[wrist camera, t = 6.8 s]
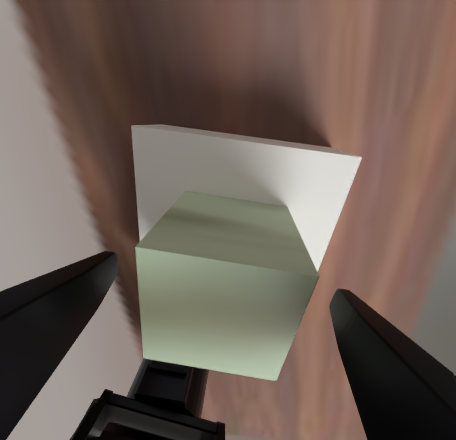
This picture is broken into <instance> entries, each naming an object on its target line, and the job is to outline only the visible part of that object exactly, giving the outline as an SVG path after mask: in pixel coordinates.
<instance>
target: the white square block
mask: <svg viewBox="0 0 456 440" xmlns="http://www.w3.org/2000/svg"><path fill="white" fill-rule="evenodd" d="M131 130H132V143H133V157H134V170H135V184H136V197H137V211H138V224H139V238H140V241H141V240H142V239H143V238H144V236H145V235H146V234H147V233H148V232H149V231H150V230H151V229H152V228H153V226H154V225H155V224H156V223H157V222H158V221H159V220H160V219H161V217H162V216H163V215H164V214H165V213H166V212H167V211H168V210H169V208H170V207H171V206H172V205H173V204H174V203H175V202H176V201H177V199H178V198H179V197H180V196H181V195H182V194H183V193H184V192H185V191H189V192H195V193H202V194H208V195H215V196H221V197H227V198H234V199H240V200H247V201H253V202H260V203H266V204H273V205H279V206H286V207H288V209H289V211H290V214H291V216H292V218H293V220H294V222H295V224H296V227H297V229H298V231H299V233H300V235H301V237H302V240H303V242H304V244H305V246H306V248H307V250H308V253H309V255H310V257H311V259H312V261H313V264H314V266H315V268H316V270H317V272H318V269H319V266H320V264H321V261H322V259H323V256H324V254H325V251H326V249H327V246H328V243H329V241H330V238H331V236H332V233H333V231H334V228H335V225H336V223H337V220H338V218H339V215H340V213H341V210H342V208H343V205H344V202H345V200H346V197H347V195H348V192H349V190H350V187H351V184H352V182H353V179H354V177H355V174H356V172H357V169H358V167H359V164H360V161H361V159H362V157H359V156H356V155H353V154H350V153H347V152H344V151H341V150H338V149H335V148H331V147H324V146H316V145H309V144H302V143H294V142H287V141H280V140H273V139H265V138H258V137H251V136H243V135H236V134H229V133H221V132H214V131H207V130H200V129H192V128H185V127H178V126H170V125H163V124H158V125H131Z"/></svg>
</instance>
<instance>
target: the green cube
mask: <svg viewBox="0 0 456 440" xmlns="http://www.w3.org/2000/svg"><path fill="white" fill-rule="evenodd" d="M135 251H136V264H137V277H138V291H139V304H140V318H141V331H142V344H143V358H145V359H151V360H156V361H162V362H168V363H174V364H180V365H186V366H191V367H197V368H203V369H209V370H215V371H220V372H226V373H232V374H238V375H244V376H250V377H255V378H261V379H267V380H273V381H276V380H277V377H278V375H279V373H280V370H281V368H282V365H283V363H284V361H285V358H286V356H287V353H288V351H289V349H290V346H291V344H292V341H293V339H294V337H295V334H296V332H297V329H298V327H299V325H300V322H301V320H302V317H303V315H304V313H305V310H306V308H307V305H308V303H309V301H310V298H311V296H312V293H313V291H314V289H315V286H316V284H317V281H318V279H319V274H318V272H317V270H316V268H315V266H314V264H313V261H312V259H311V257H310V255H309V253H308V250H307V248H306V246H305V244H304V242H303V240H302V237H301V235H300V233H299V231H298V229H297V227H296V224H295V222H294V220H293V218H292V216H291V214H290V211H289V209H288V207H286V206H279V205H273V204H266V203H260V202H253V201H247V200H240V199H234V198H227V197H221V196H215V195H208V194H202V193H195V192H189V191H185V192H184V193H183V194H182V195H181V196H180V197H179V198H178V199H177V201H176V202H175V203H174V204H173V205H172V206H171V207H170V208H169V210H168V211H167V212H166V213H165V214H164V215H163V216H162V217H161V219H160V220H159V221H158V222H157V223H156V224H155V225H154V226H153V228H152V229H151V230H150V231H149V232H148V233H147V234H146V235H145V236H144V238H143V239H142V240H141V241H140V242H139V243H138V244H137V245H136V247H135Z"/></svg>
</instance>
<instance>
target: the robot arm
mask: <svg viewBox="0 0 456 440" xmlns="http://www.w3.org/2000/svg"><path fill="white" fill-rule="evenodd" d="M118 270H119V268H118V260H117V254H116V253H115V252H109V251H104V252H101V253H99V254H97V255H94V256H91V257H89V258H86V259H83V260H81V261H78V262H76V263H73V264H70V265H68V266H65V267H63V268H60V269H57V270H55V271H52V272H50V273H47V274H45V275H42V276H39V277H37V278H34V279H32V280H29V281H26V282H24V283H21V284H19V285H16V286H13V287H11V288H8V289H6V290H3V291H1V292H0V440H6V439H7V437H8V436H9V435H10V433H11V432H12V430H13V429H14V427H15V426H16V425H17V423H18V422H19V420H20V419H21V418H22V416H23V415H24V413H25V412H26V410H27V409H28V408H29V406H30V405H31V403H32V402H33V400H34V399H35V398H36V396H37V395H38V393H39V392H40V390H41V389H42V388H43V386H44V385H45V383H46V382H47V380H48V379H49V378H50V376H51V375H52V373H53V372H54V370H55V369H56V368H57V366H58V365H59V363H60V362H61V360H62V359H63V358H64V356H65V355H66V353H67V352H68V351H69V349H70V348H71V346H72V345H73V343H74V342H75V341H76V339H77V338H78V336H79V335H80V333H81V332H82V331H83V329H84V328H85V326H86V325H87V323H88V322H89V321H90V319H91V318H92V316H93V315H94V313H95V312H96V310H97V309H98V307H99V306H100V304H101V302H102V301H103V299H104V297H105V295H106V293H107V292H108V290H109V288H110V286H111V285H112V283H113V281H114V279H115V277H116V276H117V274H118ZM330 313H331V317H332V322H333V327H334V332H335V336H336V341H337V345H338V349H339V352H340V356H341V359H342V362H343V365H344V368H345V371H346V374H347V377H348V381H349V384H350V387H351V390H352V393H353V396H354V399H355V402H356V405H357V409H358V412H359V415H360V418H361V421H362V424H363V427H364V430H365V434H366V437H367V440H456V376H454V374H453V372H451V371H450V370H449V369H447V368H446V367H445V366H444V365H443V364H441V363H440V362H439V361H437V360H436V359H435V358H434V357H432V356H431V355H430V354H429V353H427V352H426V351H425V350H423V349H422V348H421V347H420V346H419V345H417V344H416V343H415V342H414V341H412V340H411V339H410V338H409V337H407V336H406V335H405V334H404V333H402V332H401V331H400V330H399V329H397V328H396V327H395V326H394V325H392V324H391V323H390V322H388V321H387V320H386V319H385V318H383V317H382V316H381V315H380V314H378V313H377V312H376V311H375V310H373V309H372V308H371V307H370V306H368V305H367V304H366V303H365V302H363V301H362V300H361V299H360V298H358V297H357V296H356V295H355V294H353V293H352V292H351V291H349V290H346V289H337V290H336V292H335V294H334V296H333V298H332V300H331V302H330ZM208 371H209V369H203V368H197V367H191V366H186V365H180V364H174V363H168V362H162V361H156V360H151V359H145V358H143V361H142V363H141V365H140V367H139V370H138V372H137V374H136V377H135V379H134V381H133V383H132V386H131V388H130V390H129V392H128V395H127V397H125V396H121V395H118V394H114V393H113V391H110V390H107V389H105V390H104V392H103V393H102V395H101V397H100V398H98V399H94V400H93V402H92V403H91V405H90V407H89V409H88V410H87V412H86V414H85V416H84V418H83V419H82V421H81V423H80V424H79V426H78V428H77V429H76V431H75V433H74V434H73V435H72V437H71V438H70V440H225V423H221V422H218V421H217V422H216V423H215V422H212V421H208V420H205V419H201V414H202V408H203V402H204V396H205V390H206V383H207V377H208Z"/></svg>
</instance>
